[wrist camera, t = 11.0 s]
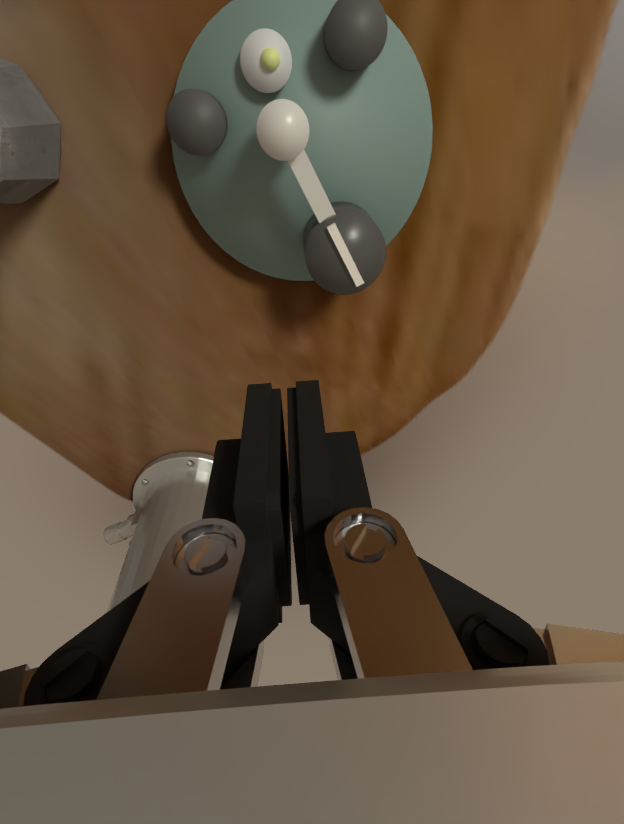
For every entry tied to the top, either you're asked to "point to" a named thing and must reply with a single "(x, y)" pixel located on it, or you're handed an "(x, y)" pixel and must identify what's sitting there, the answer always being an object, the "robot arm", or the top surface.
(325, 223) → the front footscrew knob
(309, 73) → the instrument base
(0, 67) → the coffeepot
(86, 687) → the robot arm
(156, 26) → the top surface
